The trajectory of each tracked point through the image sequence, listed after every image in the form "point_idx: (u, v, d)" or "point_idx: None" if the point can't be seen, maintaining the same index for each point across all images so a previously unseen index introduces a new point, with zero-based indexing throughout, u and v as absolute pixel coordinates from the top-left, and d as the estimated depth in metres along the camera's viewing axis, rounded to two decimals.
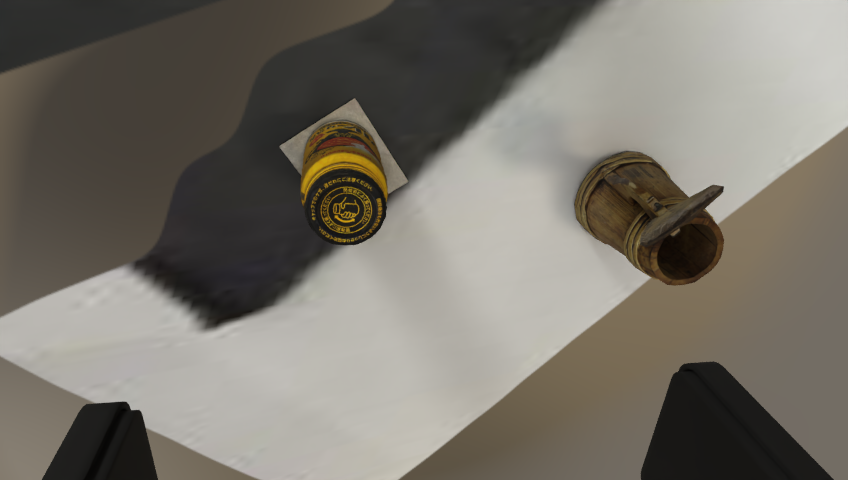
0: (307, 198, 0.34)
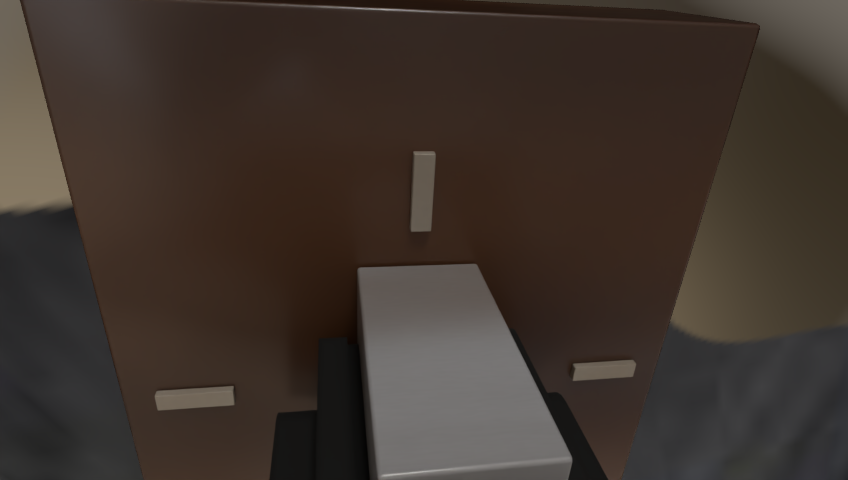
0: None
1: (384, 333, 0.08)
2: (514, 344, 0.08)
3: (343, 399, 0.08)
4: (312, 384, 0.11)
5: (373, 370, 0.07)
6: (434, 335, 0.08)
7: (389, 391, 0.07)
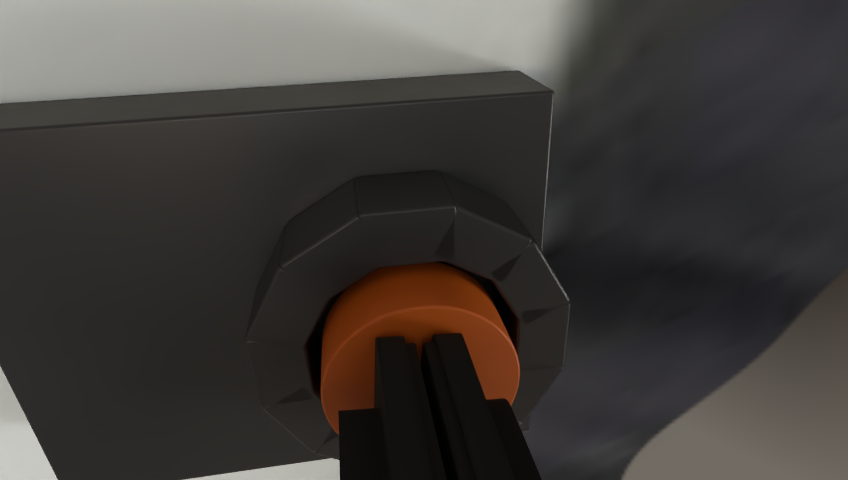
0: None
1: None
2: None
3: (409, 397, 0.08)
4: None
5: None
6: None
7: None
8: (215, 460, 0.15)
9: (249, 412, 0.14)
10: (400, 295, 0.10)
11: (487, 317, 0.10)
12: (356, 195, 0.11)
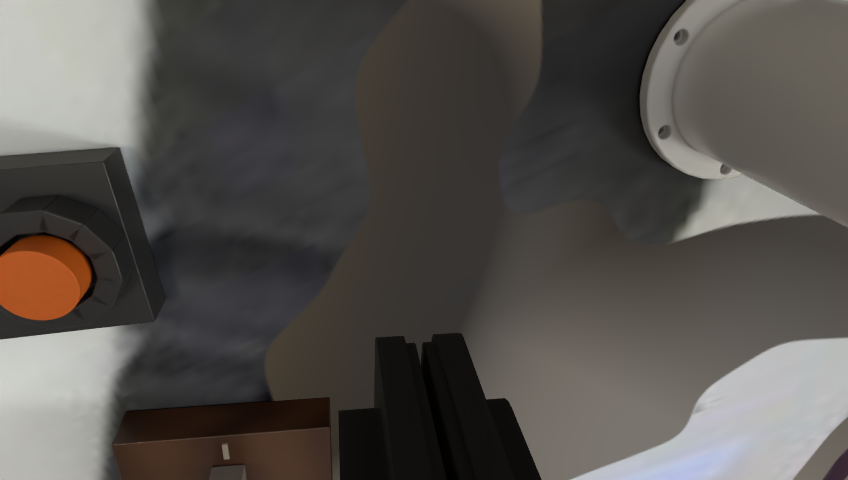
0: None
1: None
2: None
3: (409, 397, 0.08)
4: None
5: None
6: None
7: None
8: None
9: None
10: (17, 247, 0.26)
11: (52, 256, 0.26)
12: (11, 205, 0.27)
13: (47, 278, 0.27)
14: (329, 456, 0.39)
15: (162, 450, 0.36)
